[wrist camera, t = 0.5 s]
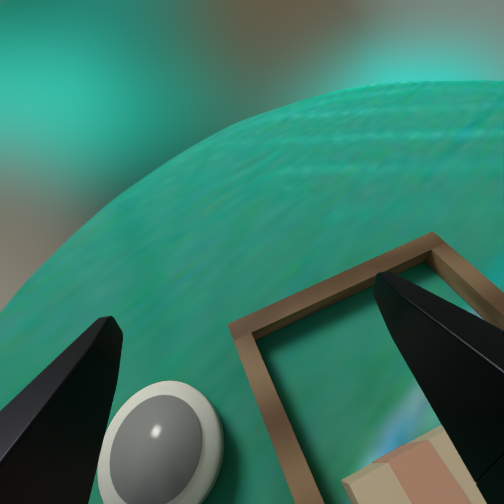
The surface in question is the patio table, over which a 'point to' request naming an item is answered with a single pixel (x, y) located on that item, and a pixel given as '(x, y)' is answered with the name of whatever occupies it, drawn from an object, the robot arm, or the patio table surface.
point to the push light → (162, 448)
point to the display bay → (325, 294)
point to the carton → (415, 475)
